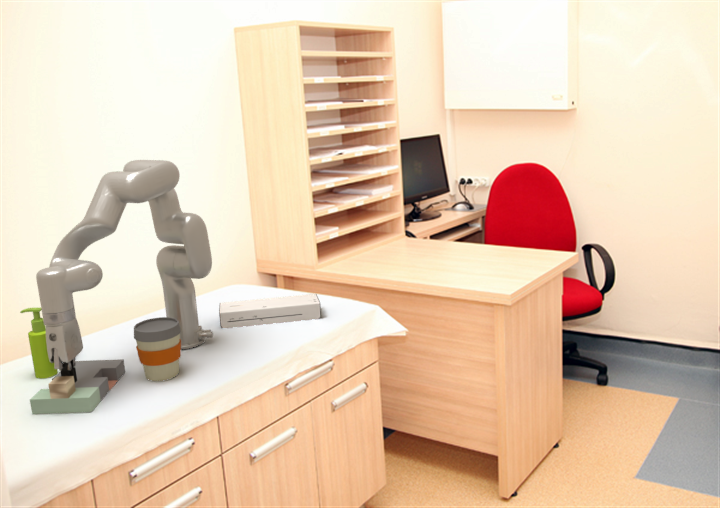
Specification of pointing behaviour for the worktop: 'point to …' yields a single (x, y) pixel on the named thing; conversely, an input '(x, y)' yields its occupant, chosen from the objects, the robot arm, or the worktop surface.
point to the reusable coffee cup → (159, 347)
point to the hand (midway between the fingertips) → (70, 382)
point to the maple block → (62, 387)
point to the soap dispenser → (39, 346)
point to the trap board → (82, 388)
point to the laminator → (269, 311)
